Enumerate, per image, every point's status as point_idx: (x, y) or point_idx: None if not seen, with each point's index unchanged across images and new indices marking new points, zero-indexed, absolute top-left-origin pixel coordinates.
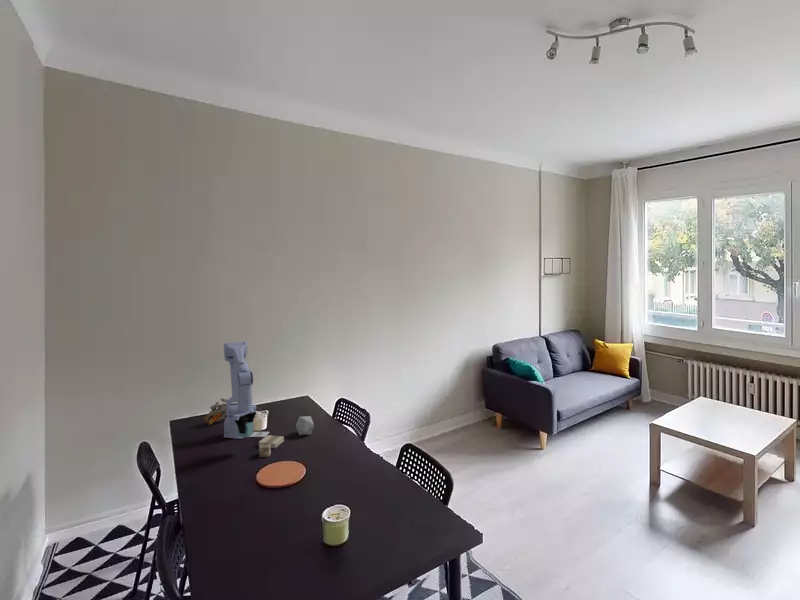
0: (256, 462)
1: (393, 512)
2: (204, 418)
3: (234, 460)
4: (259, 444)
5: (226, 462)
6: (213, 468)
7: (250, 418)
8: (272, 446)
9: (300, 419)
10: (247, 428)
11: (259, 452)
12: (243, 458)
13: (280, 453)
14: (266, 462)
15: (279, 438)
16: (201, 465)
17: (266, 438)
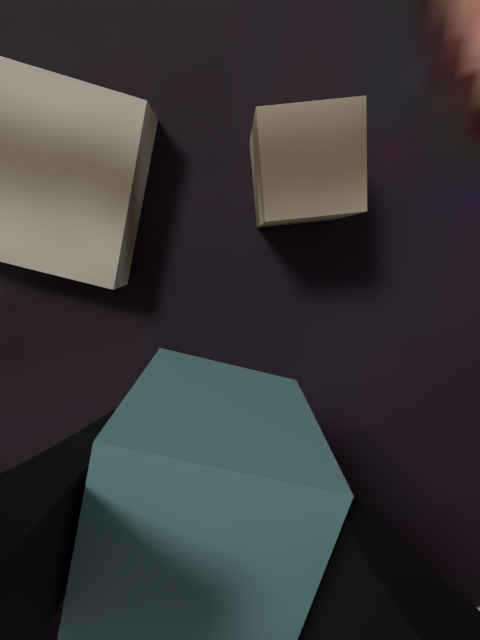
0: (432, 216)
1: None
2: None
3: (370, 389)
4: (123, 278)
5: (393, 429)
6: (468, 474)
7: (7, 609)
8: (150, 145)
9: None
10: (331, 459)
11: (348, 215)
12: (345, 337)
13: (280, 35)
14: (448, 129)
15: (3, 81)
16: (411, 551)
17: (18, 234)
